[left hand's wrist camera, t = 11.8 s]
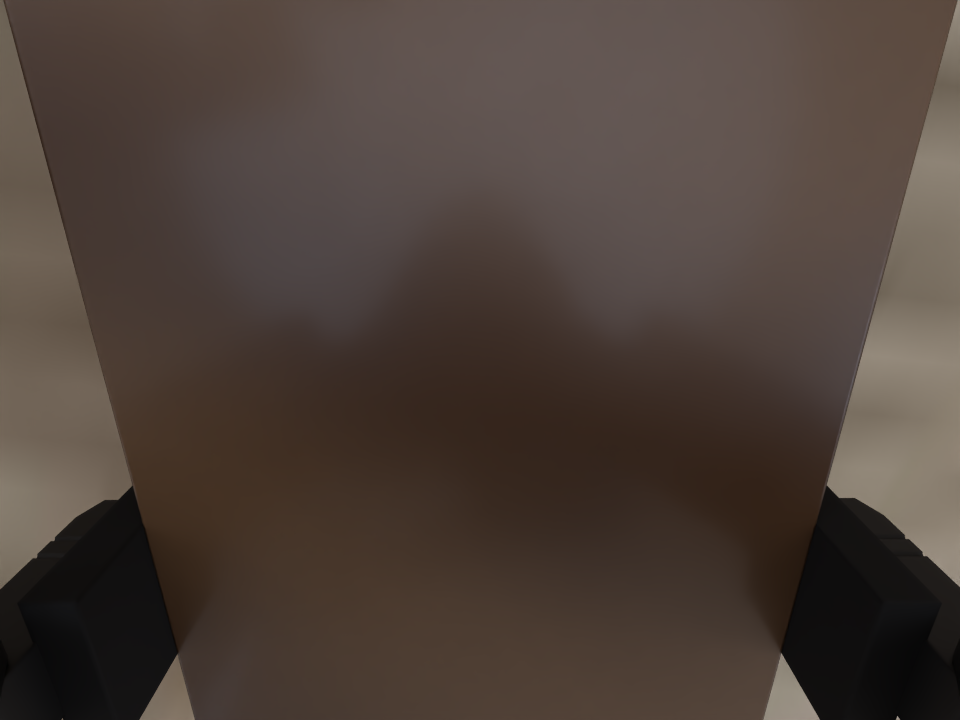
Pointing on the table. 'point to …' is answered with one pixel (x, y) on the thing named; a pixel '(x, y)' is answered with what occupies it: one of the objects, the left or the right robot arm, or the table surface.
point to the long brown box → (479, 329)
